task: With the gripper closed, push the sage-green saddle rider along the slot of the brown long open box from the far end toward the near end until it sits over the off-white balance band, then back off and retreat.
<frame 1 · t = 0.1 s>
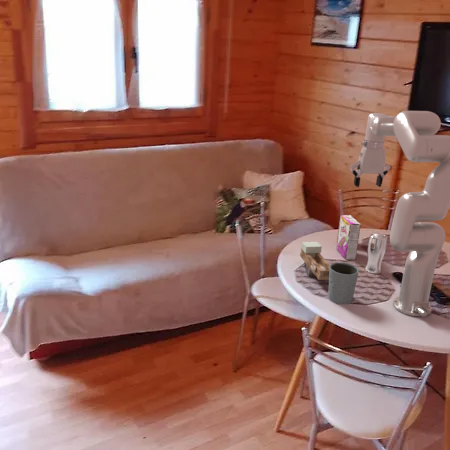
hand: (367, 186, 204), 31 cm above the table, fingers open, 9 cm apart
grey green cup: (339, 298, 178), on the table
rider: (311, 250, 200), point 7 cm above the table, slide at 0.0 cm
candy bar box: (345, 255, 215), on the table
canned food: (345, 244, 227), on the table
brown long open box: (315, 273, 196), on the table
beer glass: (372, 270, 201), on the table
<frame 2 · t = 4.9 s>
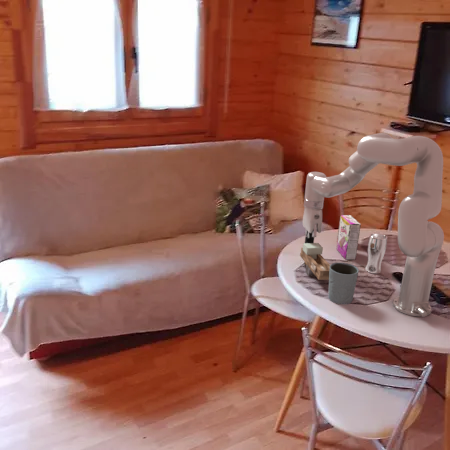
hand: (308, 246, 202), 8 cm above the table, fingers closed
rider: (312, 251, 198), point 7 cm above the table, slide at 1.3 cm, touching gripper
everything else where it was.
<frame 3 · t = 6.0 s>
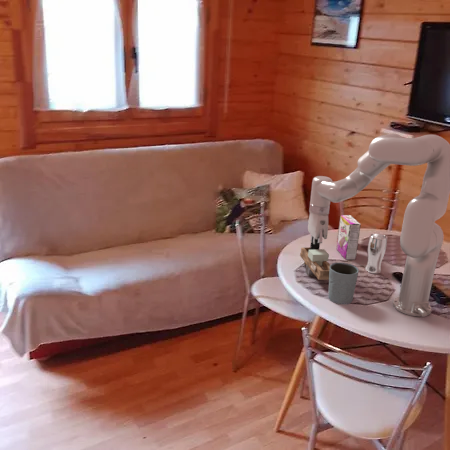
hand: (314, 252, 197), 8 cm above the table, fingers closed
rider: (317, 257, 193), point 7 cm above the table, slide at 7.7 cm, touching gripper
everything else where it was.
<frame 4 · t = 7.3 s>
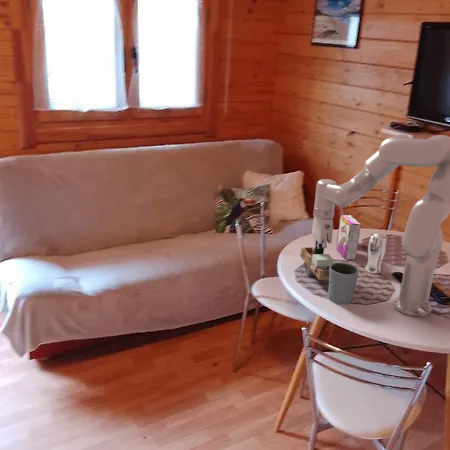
hand: (318, 257, 192), 8 cm above the table, fingers closed
rider: (322, 262, 188), point 7 cm above the table, slide at 12.3 cm, touching gripper
everything else where it was.
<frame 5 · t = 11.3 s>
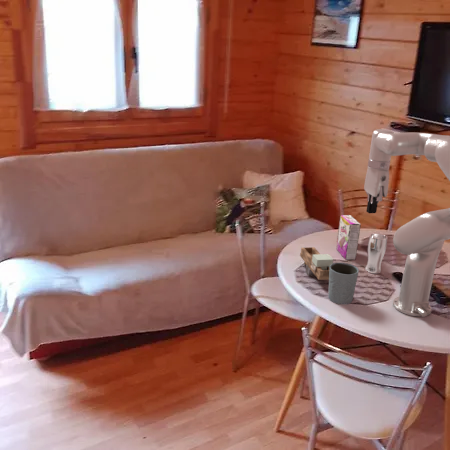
hand: (371, 212, 185), 27 cm above the table, fingers closed
rider: (322, 263, 188), point 7 cm above the table, slide at 12.4 cm
everything else where it was.
at the end: rider slide at 12.4 cm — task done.
